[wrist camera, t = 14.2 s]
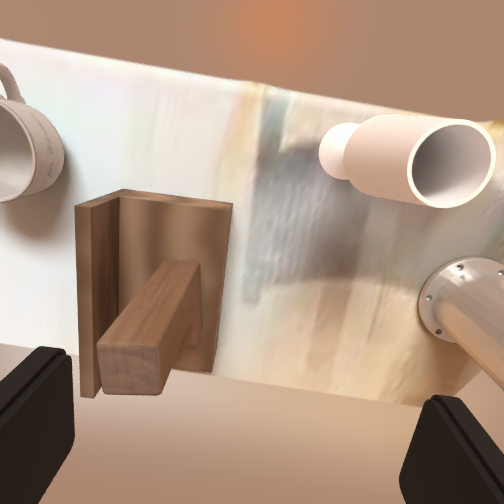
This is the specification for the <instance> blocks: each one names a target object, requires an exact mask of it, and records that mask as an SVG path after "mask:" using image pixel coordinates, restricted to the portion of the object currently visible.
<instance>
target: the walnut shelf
mask: <svg viewBox="0 0 504 504" xmlns="http://www.w3.org/2000/svg"><path fill="white" fill-rule="evenodd" d="M232 205H233V203H227V202H219V201H212V200H204V199H196V198H189V197H181V196H174V195H166V194H158V193H151V192H143V191H135V190H128V189H121V190H118V191H116V192H113V193H110V194H107V195H104V196H101V197H98V198H95V199H92V200H90V201H87V202H84V203H81V204H78V205H75V206H74V207H75V239H76V270H77V301H78V333H79V363H80V392H81V393H80V395H81V397H85V398H94V397H95V396H96V394H97V393H98V391H99V390H100V388H101V387H102V383H101V376H100V369H99V363H98V356H97V349H96V345H97V342H98V341H99V339H100V338H101V337H102V336H103V335H104V333H105V332H106V331H107V330H108V328H109V327H110V326H111V325H112V323H113V322H114V321H115V320H116V319H117V317H118V316H119V315H120V314H121V312H122V311H123V310H124V309H125V307H126V306H127V305H128V304H129V303H130V301H131V300H132V299H133V298H134V296H135V295H136V294H137V293H138V291H139V290H140V289H141V288H142V287H143V285H144V284H145V283H146V282H147V280H148V279H149V278H150V277H151V275H152V274H153V273H154V272H155V271H156V269H157V268H158V267H159V266H160V264H161V263H162V262H163V261H165V260H170V261H198V262H199V263H200V278H201V304H202V328H201V331H200V334H199V338H198V341H197V344H196V345H180V348H179V350H178V353H177V355H176V358H175V360H174V363H173V366H172V368H179V369H187V370H195V371H203V372H211V373H212V369H213V364H214V359H215V354H216V349H217V340H218V331H219V322H220V313H221V304H222V295H223V286H224V277H225V268H226V259H227V250H228V241H229V232H230V223H231V214H232Z"/></svg>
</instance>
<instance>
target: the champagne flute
mask: <svg viewBox="0 0 504 504" xmlns="http://www.w3.org/2000/svg"><path fill="white" fill-rule="evenodd" d="M319 159H320V163H321V165H322V167H323V169H324V170H325V172H326V173H327V174H329V175H330V176H332V177H333V178H336V179H339V180H349V181H350V182H351V183H352V185H353V186H354V187H355V188H357V189H358V190H359V191H361V192H363V193H365V194H368V195H371V196H376V197H382V198H387V199H393V200H398V201H404V202H409V203H415V204H420V205H426V206H431V207H437V208H450V207H455V206H458V205H462V204H464V203H466V202H468V201H470V200H471V199H472V198H474V197H475V196H476V195H477V194H478V193H479V192H480V191H481V190H482V189H483V188H484V187H485V185H486V184H487V183H488V181H489V179H490V177H491V175H492V173H493V170H494V166H495V159H496V153H495V146H494V143H493V140H492V138H491V137H490V135H489V134H488V132H487V131H486V130H485V129H484V128H483V127H482V126H480V125H478V124H477V123H475V122H472V121H469V120H461V119H448V118H434V117H420V116H406V115H392V114H385V115H378V116H375V117H372V118H370V119H368V120H366V121H365V122H363V123H362V124H361V125H358V124H355V123H342V124H339V125H337V126H335V127H333V128H332V129H331V130H329V131H328V132H327V134H326V135H325V136H324V138H323V139H322V141H321V144H320V148H319Z"/></svg>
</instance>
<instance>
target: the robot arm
mask: <svg viewBox="0 0 504 504" xmlns="http://www.w3.org/2000/svg"><path fill="white" fill-rule="evenodd" d="M418 306H419V314H420V317H421V320H422V322H423V323H424V325H425V326H426V328H427V329H428V330H429V331H430V332H431V333H432V334H433V335H434V336H436V337H437V338H439V339H441V340H443V341H446V342H450V343H457V344H459V345H460V346H461V348H462V349H463V350H464V351H465V352H466V353H467V354H468V355H469V356H470V357H471V358H472V359H473V360H474V361H475V362H476V363H477V364H478V365H479V366H480V367H481V368H482V369H483V370H484V371H485V372H486V373H487V374H488V375H489V376H490V377H491V378H492V379H493V380H494V381H495V382H496V383H497V384H498V385H499V387H500V388H502V390H503V391H504V266H503V265H501V264H499V263H497V262H495V261H493V260H491V259H488V258H484V257H465V258H460V259H457V260H454V261H452V262H449V263H447V264H446V265H444V266H442V267H441V268H439V269H438V270H437V271H436V272H434V273H433V274H432V275H431V277H430V278H429V279H428V280H427V282H426V283H425V285H424V287H423V288H422V291H421V294H420V297H419V303H418ZM74 438H75V428H74V403H73V378H72V359H71V356H69V355H66V352H65V350H64V349H61V348H53V347H45V346H40V347H38V348H36V349H35V350H34V351H33V352H32V353H31V354H30V355H29V356H27V357H26V358H25V359H24V360H23V361H22V362H21V363H20V364H19V365H18V366H17V367H16V368H14V369H13V370H12V371H11V372H10V373H9V374H8V375H7V376H6V377H5V378H4V379H3V380H2V381H0V504H38V503H39V501H40V500H41V498H42V496H43V494H44V493H45V492H46V490H47V488H48V487H49V485H50V483H51V482H52V480H53V478H54V477H55V475H56V474H57V472H58V470H59V469H60V467H61V465H62V464H63V462H64V460H65V459H66V457H67V455H68V454H69V452H70V450H71V448H72V446H73V442H74ZM399 484H400V489H401V492H402V495H403V497H404V500H405V502H406V504H504V454H503V453H502V452H501V450H500V449H499V448H498V446H497V445H496V444H495V443H494V441H493V440H492V439H491V437H490V436H489V435H488V434H487V432H486V431H485V430H484V429H483V427H482V426H481V425H480V423H479V422H478V421H477V419H476V418H475V417H474V416H473V414H472V413H471V412H470V410H469V409H468V408H467V407H466V405H465V404H464V403H463V401H462V400H461V399H460V398H457V397H451V396H443V395H433V396H432V397H431V399H430V400H426V401H425V403H424V405H423V408H422V411H421V414H420V417H419V420H418V423H417V426H416V429H415V431H414V434H413V437H412V440H411V443H410V446H409V449H408V452H407V455H406V458H405V460H404V463H403V466H402V469H401V472H400V476H399Z"/></svg>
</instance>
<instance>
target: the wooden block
mask: <svg viewBox="0 0 504 504" xmlns="http://www.w3.org/2000/svg"><path fill="white" fill-rule="evenodd" d="M201 328H202V304H201V278H200V263H199V262H198V261H170V260H165V261H163V262H162V263H161V264H160V266H159V267H158V268H157V269H156V271H155V272H154V273H153V274H152V275H151V277H150V278H149V279H148V280H147V282H146V283H145V284H144V285H143V287H142V288H141V289H140V290H139V291H138V293H137V294H136V295H135V296H134V298H133V299H132V300H131V301H130V303H129V304H128V305H127V306H126V307H125V309H124V310H123V311H122V312H121V314H120V315H119V316H118V317H117V319H116V320H115V321H114V322H113V323H112V325H111V326H110V327H109V328H108V330H107V331H106V332H105V333H104V335H103V336H102V337H101V338H100V339H99V341H98V342H97V345H96V349H97V356H98V363H99V369H100V376H101V383H102V390H103V392H104V393H105V394H112V395H114V394H115V395H154V396H156V395H160V394H161V393H162V391H163V388H164V386H165V383H166V381H167V378H168V376H169V373H170V371H171V368H172V366H173V363H174V360H175V358H176V355H177V353H178V350H179V348H180V345H196V344H197V341H198V338H199V334H200V331H201Z"/></svg>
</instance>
